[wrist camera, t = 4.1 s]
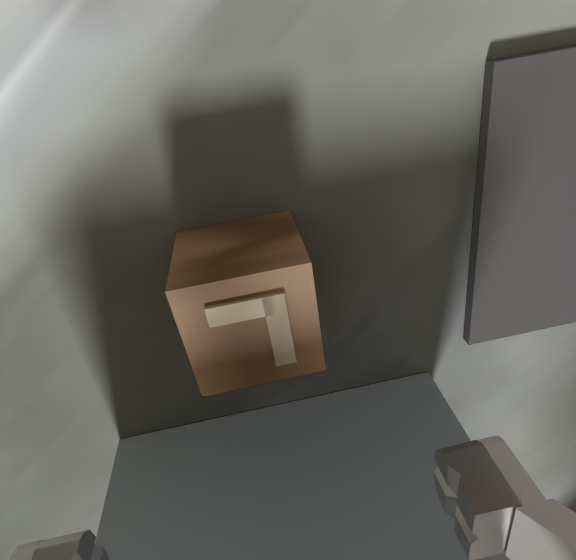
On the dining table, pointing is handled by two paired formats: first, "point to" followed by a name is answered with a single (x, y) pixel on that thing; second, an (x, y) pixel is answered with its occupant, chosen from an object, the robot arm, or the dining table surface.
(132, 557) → the pale blue flat slab
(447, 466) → the robot arm
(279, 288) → the walnut cube
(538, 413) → the dining table surface
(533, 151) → the mat
